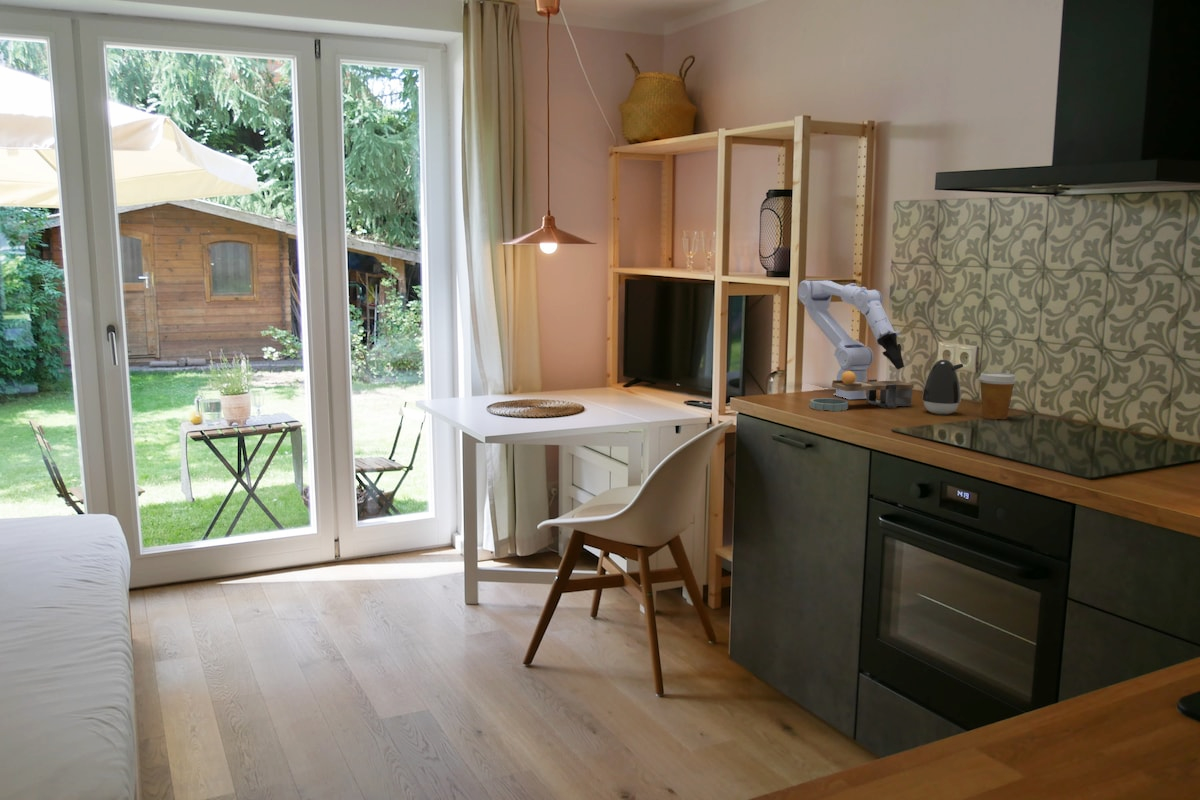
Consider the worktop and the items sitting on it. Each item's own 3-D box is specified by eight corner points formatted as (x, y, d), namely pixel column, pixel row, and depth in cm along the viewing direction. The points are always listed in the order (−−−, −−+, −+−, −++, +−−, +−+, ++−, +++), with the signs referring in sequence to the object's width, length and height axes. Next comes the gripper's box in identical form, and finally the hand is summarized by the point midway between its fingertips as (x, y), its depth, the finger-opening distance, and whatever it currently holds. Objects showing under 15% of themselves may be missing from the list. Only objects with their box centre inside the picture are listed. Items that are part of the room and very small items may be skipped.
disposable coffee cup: (1020, 420, 266) (1024, 376, 264) (990, 421, 264) (993, 377, 262) (998, 414, 275) (1001, 371, 273) (968, 415, 273) (971, 372, 271)
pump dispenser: (953, 417, 269) (957, 362, 267) (916, 413, 275) (919, 359, 273) (965, 412, 277) (969, 359, 275) (928, 408, 283) (932, 356, 281)
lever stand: (893, 401, 295) (894, 378, 294) (915, 407, 285) (916, 383, 283) (866, 402, 293) (867, 379, 291) (887, 408, 282) (888, 384, 281)
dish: (803, 405, 286) (803, 398, 286) (835, 404, 289) (836, 397, 289) (821, 411, 276) (821, 404, 276) (854, 410, 279) (855, 403, 279)
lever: (896, 399, 293) (897, 377, 292) (912, 403, 286) (913, 381, 285) (831, 402, 287) (832, 380, 286) (845, 406, 280) (846, 384, 279)
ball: (838, 383, 285) (839, 370, 284) (850, 383, 286) (851, 369, 285) (845, 385, 281) (846, 372, 280) (858, 385, 282) (858, 371, 281)
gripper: (889, 309, 282) (908, 348, 276) (896, 328, 294) (915, 366, 288) (866, 319, 284) (884, 359, 278) (874, 338, 296) (892, 376, 290)
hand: (898, 363), depth 283 cm, fingers open, 7 cm apart
